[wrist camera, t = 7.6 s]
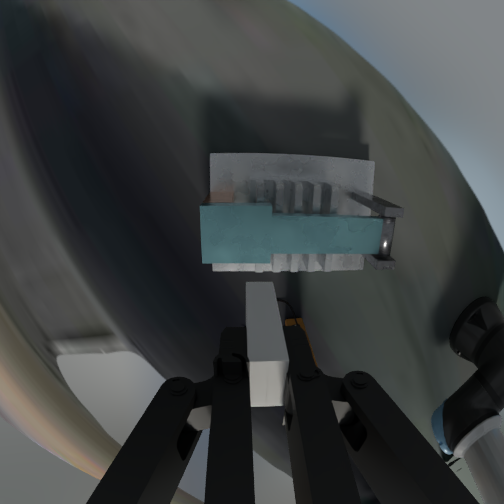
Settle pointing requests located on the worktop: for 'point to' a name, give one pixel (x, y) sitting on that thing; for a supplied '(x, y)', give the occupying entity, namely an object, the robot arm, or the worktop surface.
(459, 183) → the worktop surface
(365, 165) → the heatsink base
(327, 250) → the lever
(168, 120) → the worktop surface
